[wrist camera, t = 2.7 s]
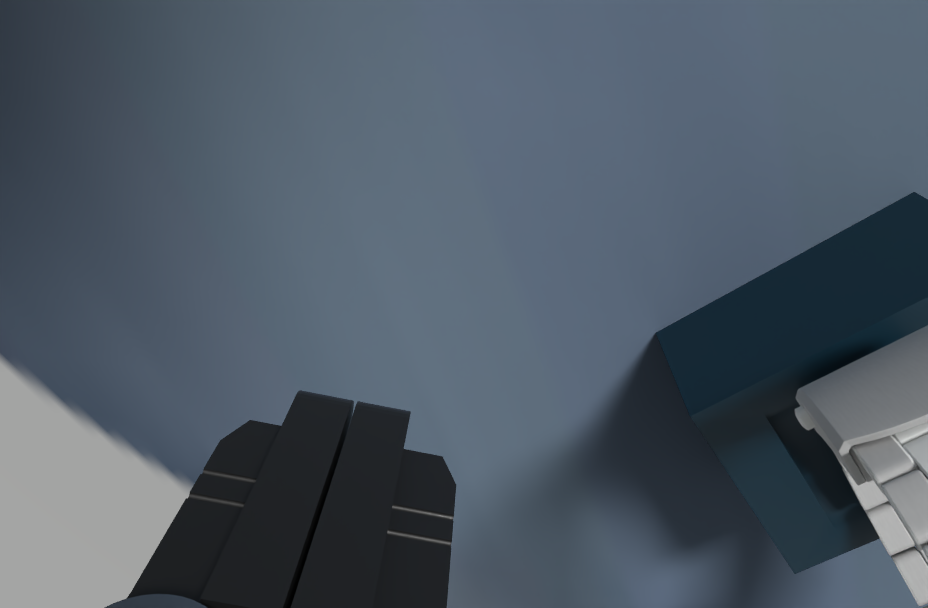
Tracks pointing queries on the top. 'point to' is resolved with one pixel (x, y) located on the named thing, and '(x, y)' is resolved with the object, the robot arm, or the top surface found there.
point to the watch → (823, 392)
